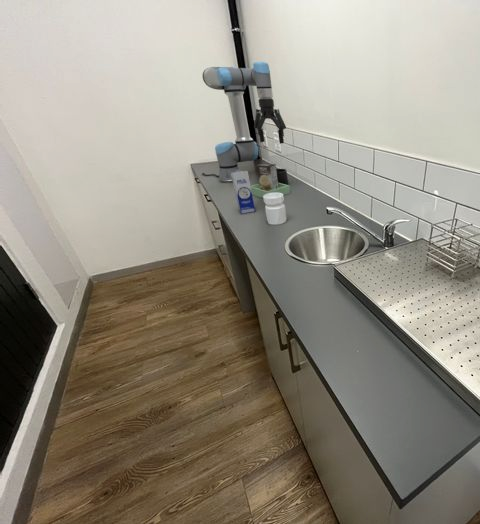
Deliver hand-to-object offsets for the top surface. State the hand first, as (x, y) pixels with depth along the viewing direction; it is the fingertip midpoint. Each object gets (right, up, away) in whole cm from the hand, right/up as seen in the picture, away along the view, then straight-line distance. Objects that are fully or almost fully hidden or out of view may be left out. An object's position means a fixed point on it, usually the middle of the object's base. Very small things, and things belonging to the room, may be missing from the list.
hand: (272, 142), depth 161 cm
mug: (-2, -16, +27) cm, 31 cm away
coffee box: (-4, -25, +10) cm, 28 cm away
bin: (-4, -26, +10) cm, 28 cm away
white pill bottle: (+10, -47, -27) cm, 55 cm away
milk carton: (-9, -40, -15) cm, 44 cm away
